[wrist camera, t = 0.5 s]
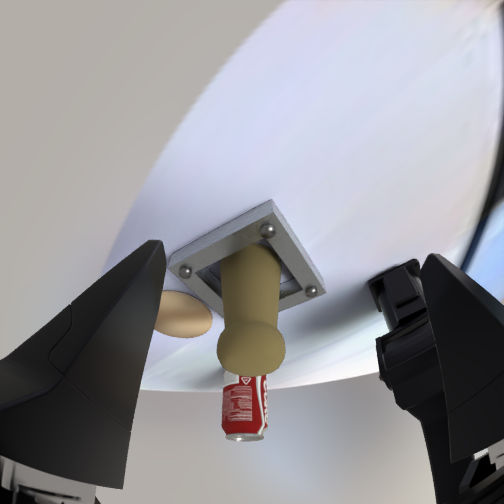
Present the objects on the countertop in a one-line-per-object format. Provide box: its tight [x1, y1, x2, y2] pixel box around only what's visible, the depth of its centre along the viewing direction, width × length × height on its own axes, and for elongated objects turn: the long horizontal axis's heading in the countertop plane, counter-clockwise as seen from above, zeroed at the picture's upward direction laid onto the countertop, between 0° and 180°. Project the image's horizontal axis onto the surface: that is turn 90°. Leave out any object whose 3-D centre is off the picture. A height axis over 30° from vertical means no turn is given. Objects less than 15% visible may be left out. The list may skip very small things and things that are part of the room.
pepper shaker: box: [217, 243, 285, 377], centre depth 23 cm, size 6×6×11 cm
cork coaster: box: [154, 291, 212, 338], centre depth 32 cm, size 9×9×1 cm
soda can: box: [222, 369, 268, 441], centre depth 37 cm, size 7×7×12 cm
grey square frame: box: [168, 199, 326, 318], centre depth 26 cm, size 11×11×2 cm
